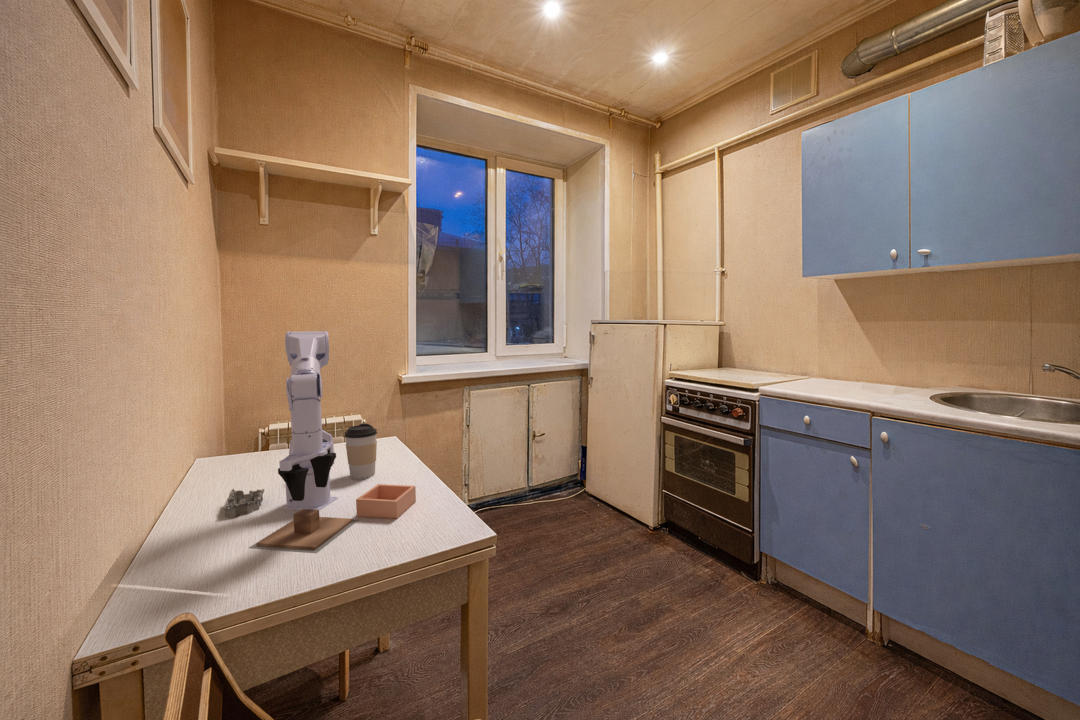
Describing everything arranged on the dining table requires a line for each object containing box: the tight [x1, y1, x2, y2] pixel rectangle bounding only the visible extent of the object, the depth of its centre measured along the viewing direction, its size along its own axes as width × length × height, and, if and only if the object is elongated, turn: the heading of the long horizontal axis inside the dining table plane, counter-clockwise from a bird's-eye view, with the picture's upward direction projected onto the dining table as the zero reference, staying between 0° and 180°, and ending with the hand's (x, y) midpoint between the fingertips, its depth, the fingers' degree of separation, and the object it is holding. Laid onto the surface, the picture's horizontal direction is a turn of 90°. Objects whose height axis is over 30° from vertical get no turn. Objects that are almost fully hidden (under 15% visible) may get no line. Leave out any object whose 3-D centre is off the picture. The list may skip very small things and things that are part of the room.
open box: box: [355, 483, 417, 520], centre depth 107 cm, size 10×10×4 cm
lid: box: [256, 509, 354, 550], centre depth 95 cm, size 13×13×5 cm
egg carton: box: [223, 488, 265, 518], centre depth 110 cm, size 11×8×4 cm
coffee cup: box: [344, 423, 378, 480], centre depth 132 cm, size 9×9×15 cm
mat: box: [248, 518, 359, 554], centre depth 95 cm, size 15×15×1 cm
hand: (310, 493), depth 95 cm, fingers open, 7 cm apart
